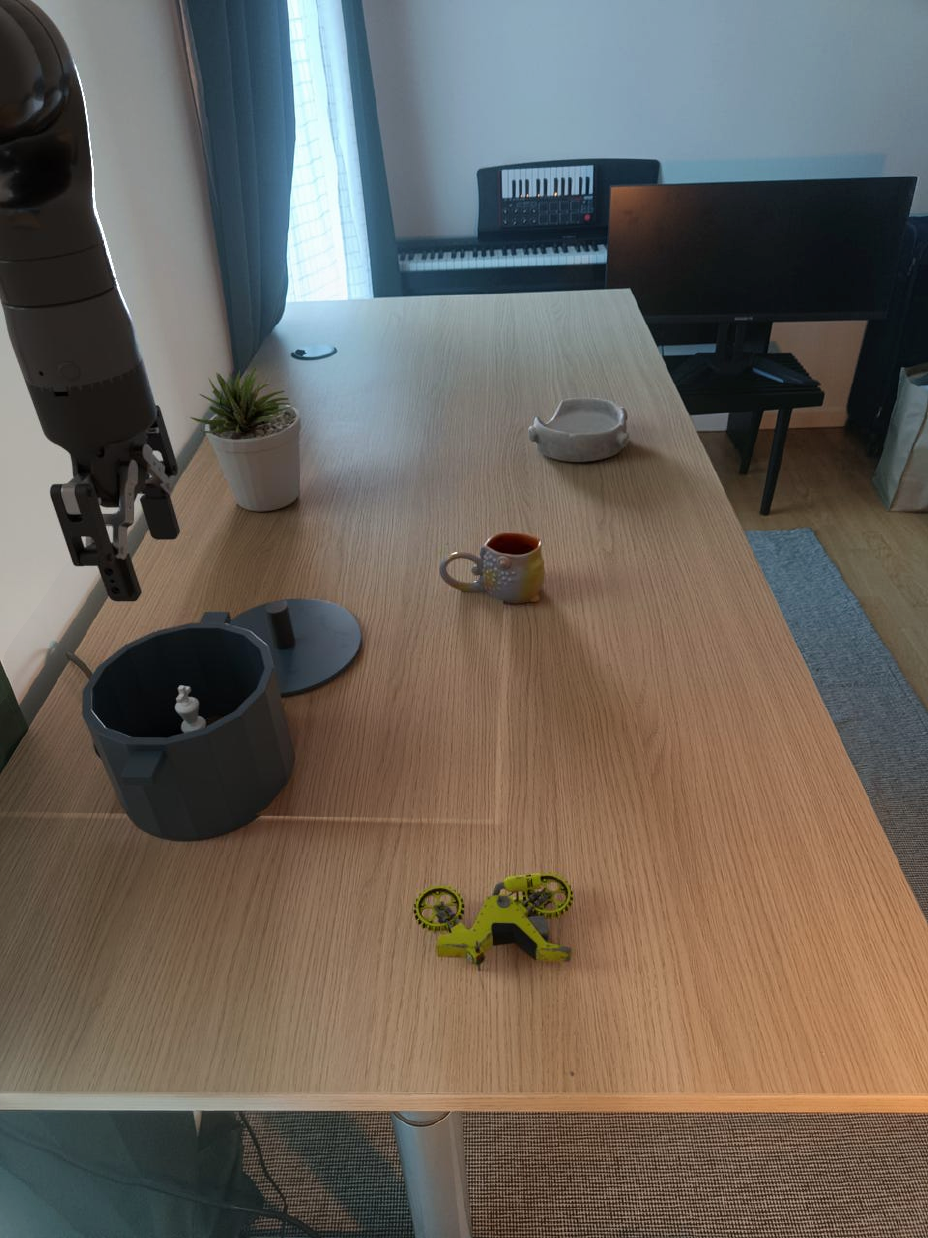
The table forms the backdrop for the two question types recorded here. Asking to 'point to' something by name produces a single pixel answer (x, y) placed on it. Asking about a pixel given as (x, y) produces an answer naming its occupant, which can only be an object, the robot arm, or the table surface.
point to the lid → (304, 640)
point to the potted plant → (255, 444)
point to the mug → (503, 568)
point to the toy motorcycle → (499, 919)
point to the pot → (198, 760)
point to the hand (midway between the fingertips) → (147, 566)
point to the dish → (582, 430)
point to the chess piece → (188, 710)
